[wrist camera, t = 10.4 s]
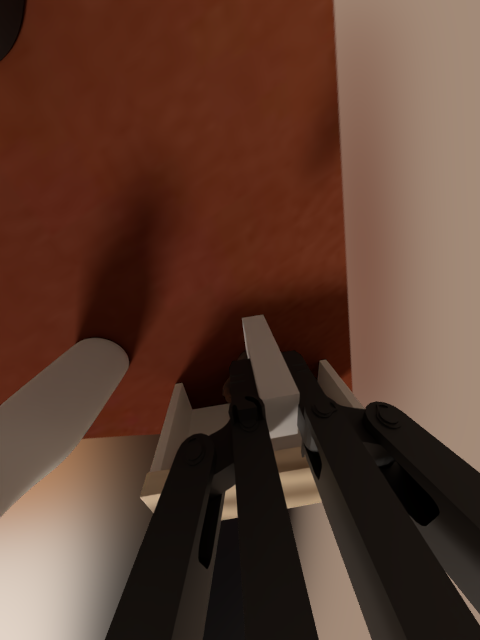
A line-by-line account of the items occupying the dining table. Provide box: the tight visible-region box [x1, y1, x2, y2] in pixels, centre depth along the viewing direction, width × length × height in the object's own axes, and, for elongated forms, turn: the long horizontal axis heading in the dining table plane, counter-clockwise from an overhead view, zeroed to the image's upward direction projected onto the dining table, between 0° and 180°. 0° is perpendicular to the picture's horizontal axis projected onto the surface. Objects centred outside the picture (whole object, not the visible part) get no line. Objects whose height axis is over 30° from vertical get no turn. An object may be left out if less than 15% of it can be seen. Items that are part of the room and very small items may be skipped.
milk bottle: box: [0, 338, 129, 517], centre depth 19 cm, size 8×8×20 cm
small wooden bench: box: [140, 360, 365, 520], centre depth 27 cm, size 9×26×15 cm, turn 97°
